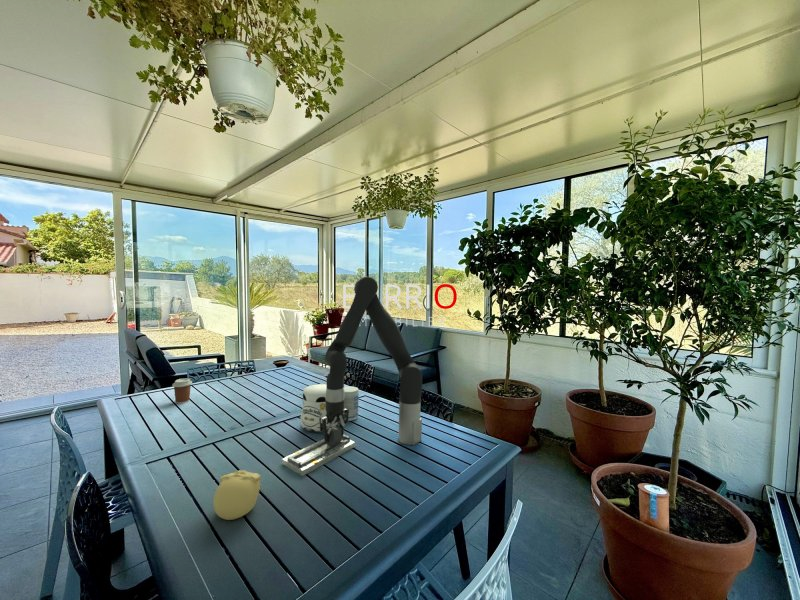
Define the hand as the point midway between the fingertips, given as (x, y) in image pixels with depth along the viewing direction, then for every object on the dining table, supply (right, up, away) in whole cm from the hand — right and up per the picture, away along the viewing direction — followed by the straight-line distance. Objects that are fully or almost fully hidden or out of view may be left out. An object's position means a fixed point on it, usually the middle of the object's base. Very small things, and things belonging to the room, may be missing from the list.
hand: (334, 438), depth 128 cm
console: (-4, -4, -6) cm, 8 cm away
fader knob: (0, -2, 0) cm, 2 cm away
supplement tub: (+1, -3, +30) cm, 31 cm away
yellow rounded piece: (-21, -5, -37) cm, 43 cm away
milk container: (-11, -3, +19) cm, 22 cm away
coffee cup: (-95, 0, +47) cm, 106 cm away
